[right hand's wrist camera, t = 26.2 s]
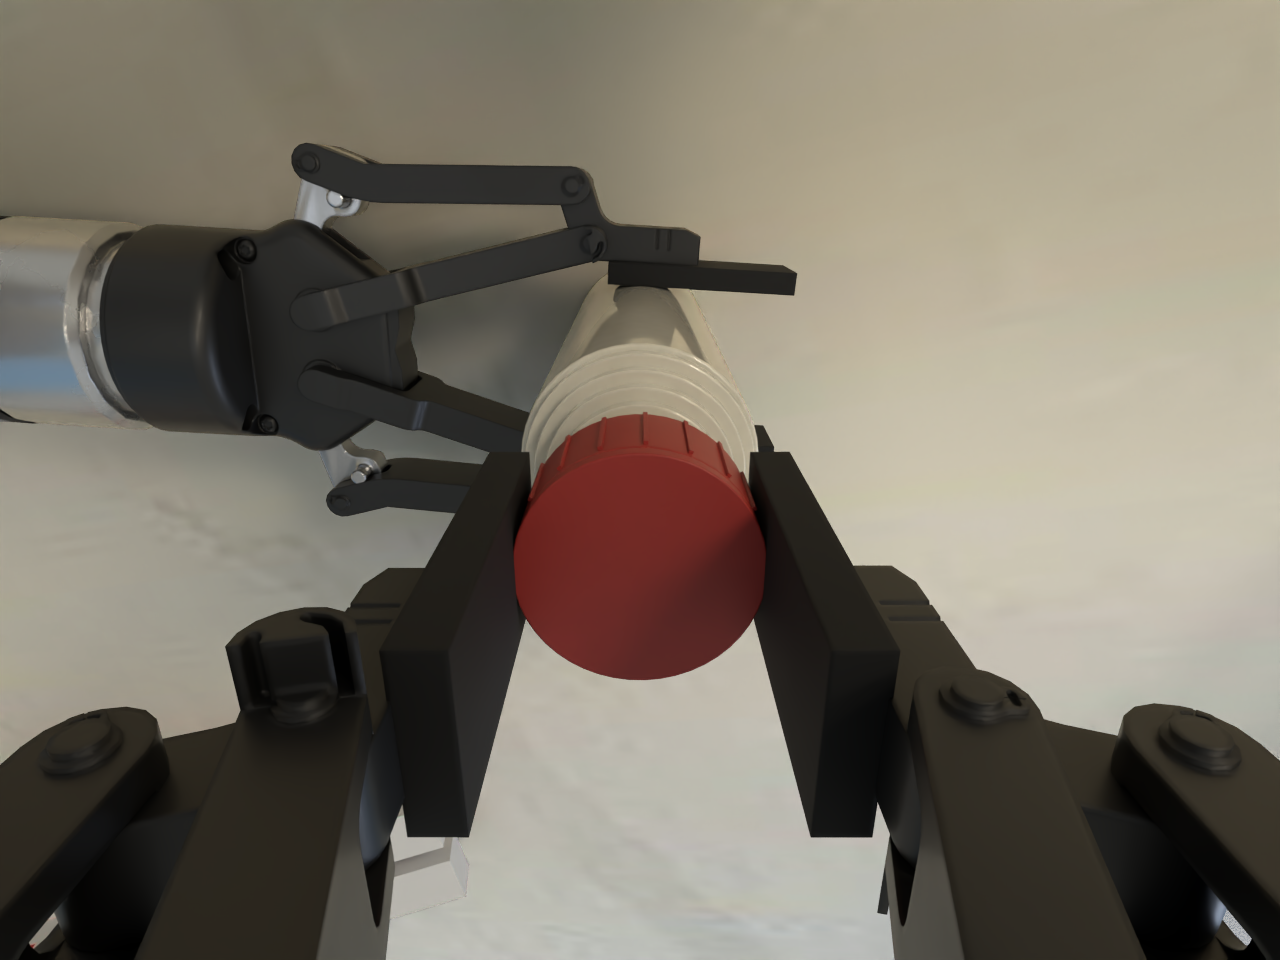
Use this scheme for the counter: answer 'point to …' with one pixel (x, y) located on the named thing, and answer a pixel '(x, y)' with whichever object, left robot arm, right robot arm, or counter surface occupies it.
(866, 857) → the counter surface
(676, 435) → the cap
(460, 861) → the toy
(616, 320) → the bottle
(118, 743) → the right robot arm
